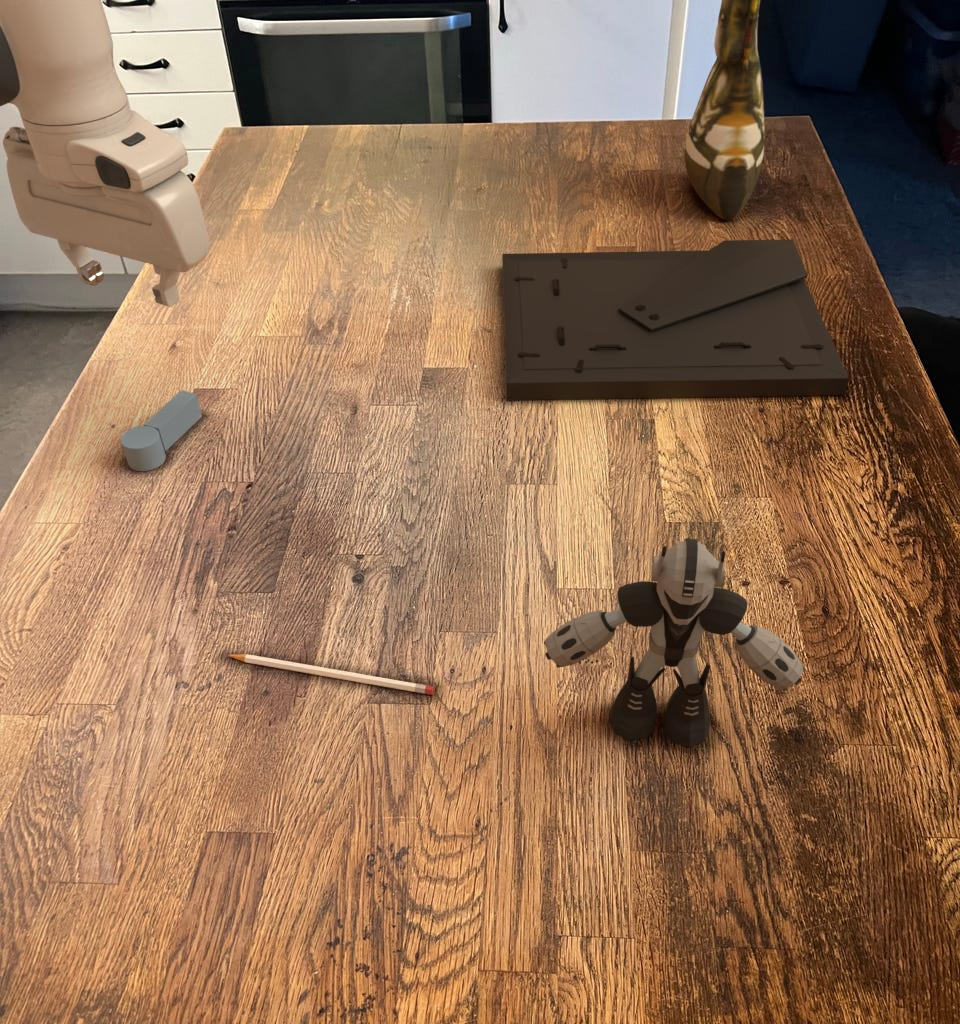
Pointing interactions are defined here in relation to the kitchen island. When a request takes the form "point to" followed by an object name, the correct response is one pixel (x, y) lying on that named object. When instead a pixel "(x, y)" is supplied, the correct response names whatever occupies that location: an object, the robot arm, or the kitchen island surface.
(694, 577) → the robot
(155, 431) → the grey mallet
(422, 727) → the kitchen island surface
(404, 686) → the pencil
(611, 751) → the kitchen island surface
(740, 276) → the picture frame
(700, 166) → the statue
